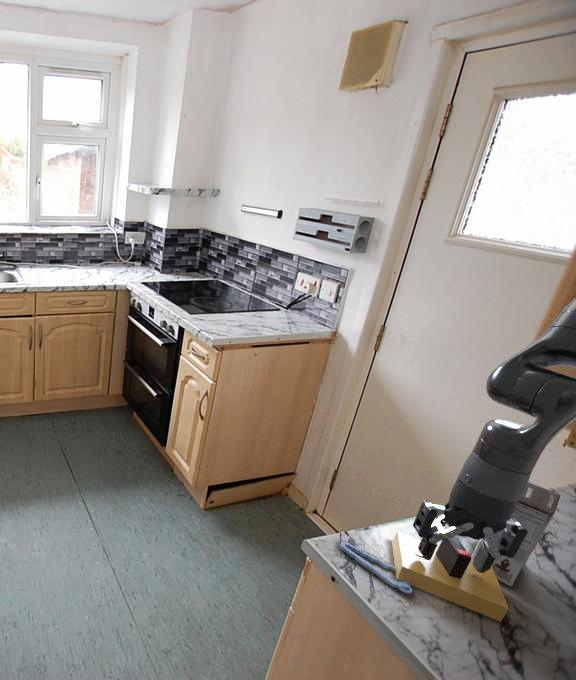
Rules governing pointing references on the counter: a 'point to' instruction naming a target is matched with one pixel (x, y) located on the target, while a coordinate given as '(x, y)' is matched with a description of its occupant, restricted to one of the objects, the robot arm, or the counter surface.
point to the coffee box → (535, 518)
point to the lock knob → (453, 557)
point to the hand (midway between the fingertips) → (450, 562)
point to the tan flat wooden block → (448, 579)
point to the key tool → (386, 579)
